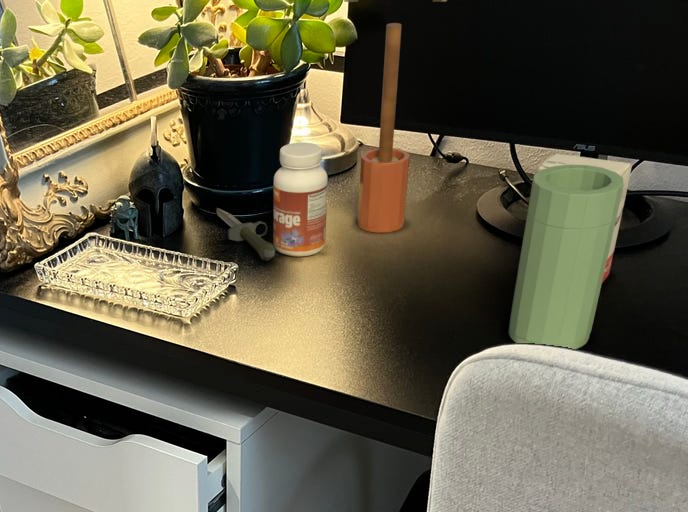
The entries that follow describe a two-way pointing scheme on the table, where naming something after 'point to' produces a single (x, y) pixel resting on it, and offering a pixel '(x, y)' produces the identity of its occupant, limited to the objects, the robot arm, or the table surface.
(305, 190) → the pill bottle
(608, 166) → the ink box
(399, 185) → the brush cup
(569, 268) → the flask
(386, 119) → the brush
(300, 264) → the table surface
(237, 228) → the knife
